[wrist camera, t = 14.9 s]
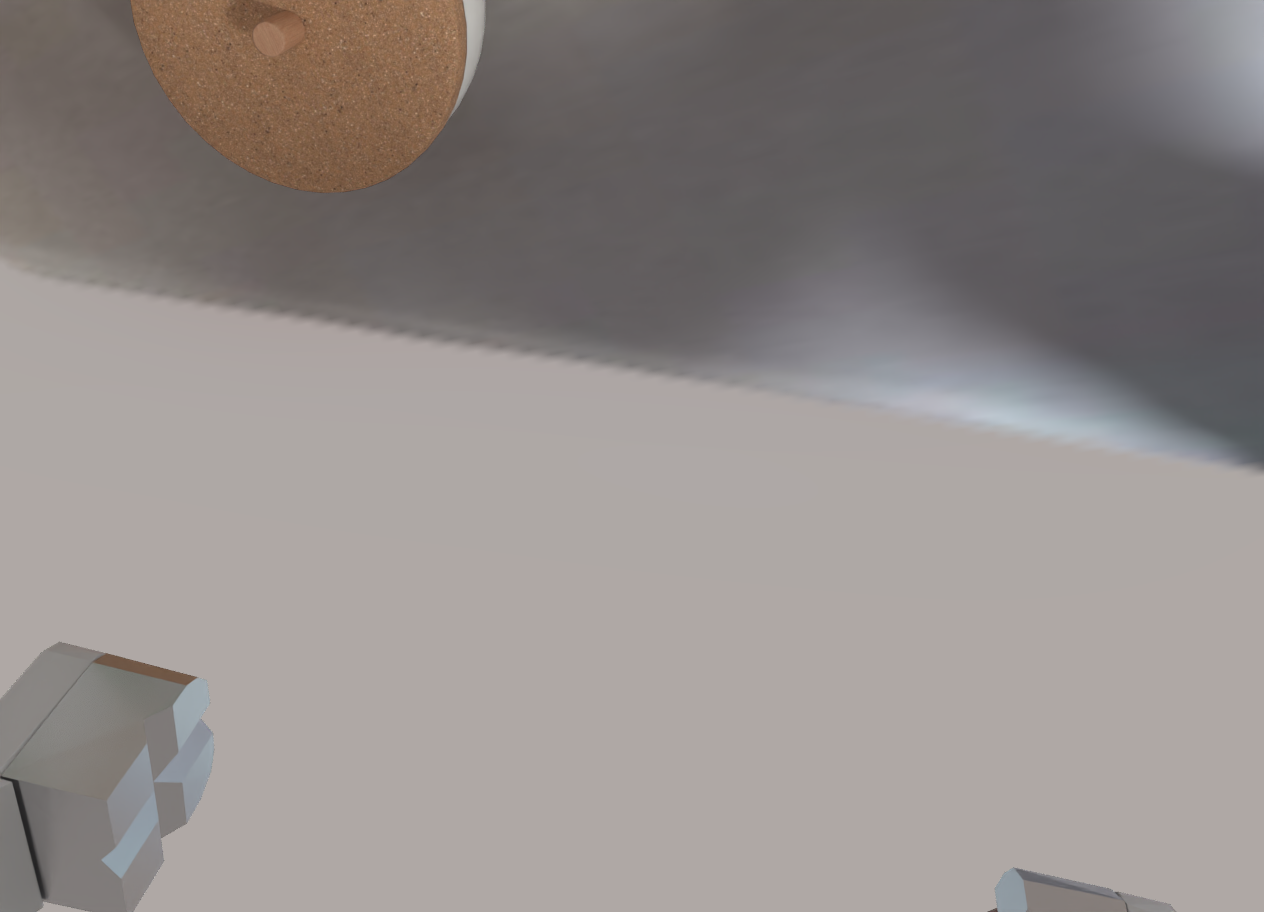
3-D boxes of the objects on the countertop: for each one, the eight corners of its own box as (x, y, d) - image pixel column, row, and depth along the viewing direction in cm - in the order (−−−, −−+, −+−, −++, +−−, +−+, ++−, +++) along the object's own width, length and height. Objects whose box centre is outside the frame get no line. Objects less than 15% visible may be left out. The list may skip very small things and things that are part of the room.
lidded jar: (319, 157, 45) (209, 246, 37) (185, -127, 39) (24, -93, 32) (562, 82, 41) (497, 163, 34) (451, -238, 36) (344, -229, 29)
